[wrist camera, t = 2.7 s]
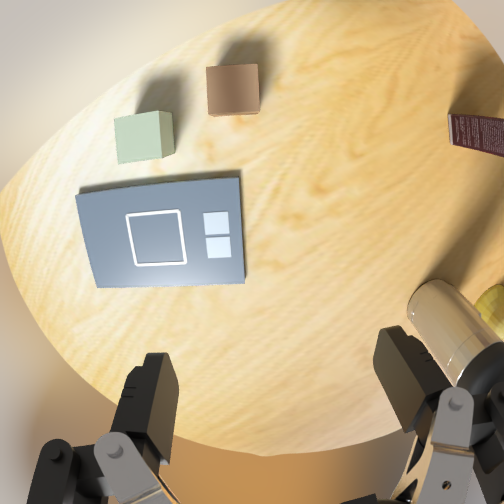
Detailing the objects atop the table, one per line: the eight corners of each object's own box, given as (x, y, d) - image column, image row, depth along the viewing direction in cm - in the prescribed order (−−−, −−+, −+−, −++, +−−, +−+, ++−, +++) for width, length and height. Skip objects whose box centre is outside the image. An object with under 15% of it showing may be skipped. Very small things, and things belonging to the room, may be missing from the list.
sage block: (172, 113, 31) (158, 110, 26) (175, 153, 33) (162, 158, 28) (133, 119, 31) (114, 118, 26) (136, 158, 33) (118, 164, 28)
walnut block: (255, 74, 30) (257, 63, 24) (256, 114, 32) (259, 111, 26) (212, 77, 30) (206, 67, 24) (214, 116, 32) (208, 114, 26)
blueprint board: (238, 176, 35) (238, 178, 34) (244, 279, 40) (244, 283, 39) (78, 193, 35) (74, 195, 34) (99, 284, 40) (96, 288, 39)
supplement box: (449, 146, 33) (529, 166, 18) (446, 113, 31) (528, 121, 16) (485, 146, 33) (560, 167, 18) (483, 116, 31) (559, 128, 16)
